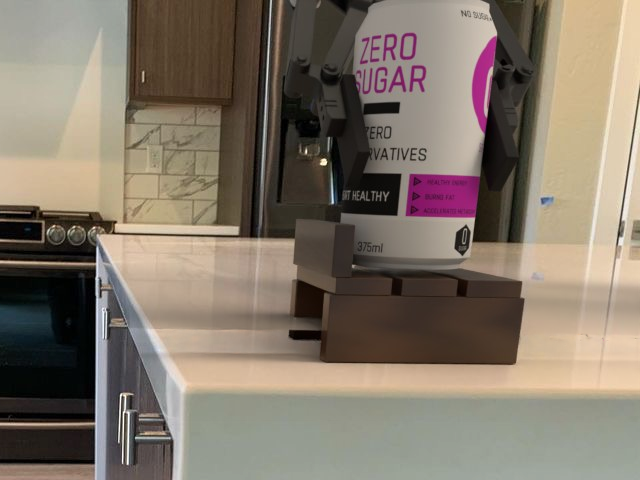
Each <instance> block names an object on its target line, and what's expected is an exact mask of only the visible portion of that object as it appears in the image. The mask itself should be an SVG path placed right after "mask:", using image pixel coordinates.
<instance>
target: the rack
mask: <svg viewBox="0 0 640 480" xmlns="http://www.w3.org/2000/svg"><path fill="white" fill-rule="evenodd" d="M354 238H355V225H352V224H344V223H340V222H337V221H336V222H335V221H329V220H320V219H312V218H296V220H295V231H294V245H293V259H292V264H293V265H295V266H296V278H293V279H292V280H291V291H290V292H291V293H290V304H289V305H290V306H289V315H290V316H291V317H292V318H315V319H317V318H318V319H319V318H320V319H321V329H288V338H289V339H291V340H293V341H320V344H319V359H320V360H322V361H324V362H325V363H381V364H382V363H385V364H386V363H387V364H389V363H391V364H393V363H395V364H396V363H397V364H481V365H482V364H483V365H484V364H486V365H488V364H489V365H491V364H492V365H495V364H496V365H515V364H517V358H518V351H519V344H520V336H521V329H522V322H523V316H524V307H525V300H526V299H525V298H524V297H521V296H522V295H521V294H522V289H523V280H519V279H514V278H509V277H505V276H501V275H500V276H499V275H495V274H490V273H485V272H480V271H475V270H471V269H465V268H460V267H459V268H458V269H451V270H408V269H388V268H375V267H364V266H357V265H352V261H353V249H354Z"/></svg>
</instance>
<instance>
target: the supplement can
mask: <svg viewBox="0 0 640 480" xmlns="http://www.w3.org/2000/svg"><path fill="white" fill-rule="evenodd" d="M496 41H497V31H496V28H495V26H494V23H493V20H492V18H491V15H490V13H489V4H488V3H486V2H484V1H481V0H385V1H381V2H378V3H374V4H372V5H371V6H370V7H369V8H368V14H367V16H366V18H365V20H364V21H363V23H362V25H361V27H360V28H359V30H358V32H357V34H356V37H355V49H354V55H353V61H352V63H353V64H352V75H355V79H356V86H357V88H358V93H359V98H360V103H361V108H362V112H363V117H364V122H365V127H366V132H367V137H368V142H369V147H370V151H371V153H370V156H369V158H368V161H367V164H366V167H365V169H364V172H363V175H362V178H361V180H360V183H359V186H358V187H346V185H345V180H344V179H343V185H342V186H343V187H342V198H341V209H340V222H339V223H344V224H352V225H355V238H354V249H353V261H352V266H364V267H375V268H388V269H408V270H451V269H458V268H460V267H461V264H462V263H464V262H465V261H467V260H468V259H469V258H471V254H472V245H473V238H474V229H475V222H476V221H475V220H476V214H477V204H478V196H479V188H480V182H481V181H480V180H481V174H482V173H481V171H482V156H483V148H484V140H485V132H486V123H487V115H488V107H489V98H490V90H491V82H492V74H493V65H494V57H495V49H496Z"/></svg>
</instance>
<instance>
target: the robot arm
mask: <svg viewBox="0 0 640 480" xmlns="http://www.w3.org/2000/svg"><path fill="white" fill-rule="evenodd" d="M381 1H385V0H325V2H326V3H328V4H329V5H330V6H331V8H334V9H335V10H336V11H337V12H338V13H339V14H341V15H342V16H343V17H344V19H343V21H342V23H341V25H340V27H339V29H338V31H337V33H336V36H335V38H334V39H333V42H332V43H331V45H330V47H329V50H328V52H327V53H326V56H325V58H324V60H323V62H322V65H320V64H317V63H314V62H312V57H313V46H314V36H315V35H314V34H315V25H316V14H317V13H316V12H317V9H318V8H319V7H320V6H321V2H322V0H284V6H285V8H286V11H287V13H288V16H289V18H290V20H291V22H290V32H289V41H288V50H287V57H286V58H287V60H286V67H285V68H286V69H285V77H284V85H283V92H284V95H285V96H286V97H288V98H290V99H299V98H301V97H302V96H303V95H304V96H307V97H310V98H312V100H311V104H310V109H309V110H310V112H311V114H312V115H313V116H316V117H318V119H319V124H320V125H319V126H320V130H321V132H322V134H323V136H324V137H325V138H336V142H337V148H338V153H339V157H340V158H339V159H340V163H341V169H342V174H343V181H344V180H345V185H346V187H358V186H359V183H360V180H361V178H362V175H363V172H364V169H365V167H366V164H367V161H368V158H369V156H370V153H371V151H370V147H369V142H368V137H367V132H366V127H365V122H364V117H363V112H362V108H361V103H360V98H359V93H358V88H357V86H356V79H355V75H352V74H353V73H352V74H351V73H348V74H347V73H346V72H347V70H348V68H349V66H350V63H351V62H352V60H353V58H354V49H355V37H356V34H357V32H358V30H359V28H360V27H361V25H362V23H363V21H364V20H365V18H366V16H367V14H368V8H369V7H370V6H371V5H372V4H374V3H378V2H381ZM481 1H484V2H486V3H488V4H489V13H490V15H491V18H492V20H493V23H494V26H495V28H496V31H497V41H496V49H495V57H494V65H493V74H492V82H491V90H490V98H489V107H488V115H487V123H486V132H485V140H484V148H483V156H482V165H481V169H482V171H483V175H484V178H485V182H486V186H487V189H488V192H502V190H503V188H504V186H505V185H506V183H507V181H508V179H509V178H510V175H511V174H512V172H513V171H514V168H515V166H516V165H517V163H518V161H519V159H520V154H519V151H518V148H517V144H516V142H515V139H514V134H515V132H516V130H517V128H518V126H519V121H520V119H519V116H518V113H517V110H516V108H517V107H519V106H520V104H521V102H522V101H523V99H524V97H525V95H526V93H527V91H528V89H529V87H530V85H531V84H532V81H533V79H534V78H535V75H536V73H537V70H536V68H535V66H534V64H533V63H532V61H531V59H530V58H529V56H528V54H527V53H526V51H525V49H524V47H523V46H522V44H521V42H520V41H519V38H517V35H516V34H515V32H514V31H513V29H512V27H511V26H510V24H509V22H508V20H507V19H506V17H505V15H504V14H503V12H502V10H501V9H500V7H499V5H498V3H497V2H496V0H481Z"/></svg>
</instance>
